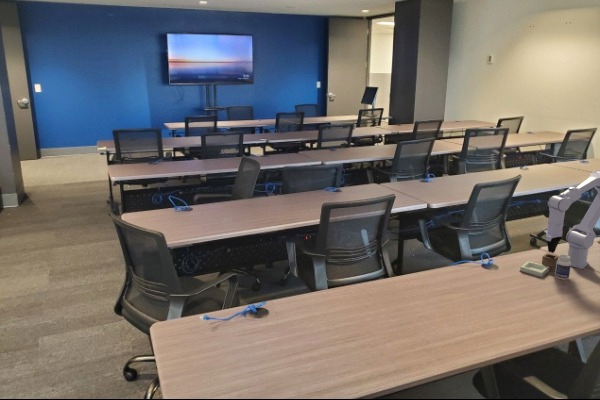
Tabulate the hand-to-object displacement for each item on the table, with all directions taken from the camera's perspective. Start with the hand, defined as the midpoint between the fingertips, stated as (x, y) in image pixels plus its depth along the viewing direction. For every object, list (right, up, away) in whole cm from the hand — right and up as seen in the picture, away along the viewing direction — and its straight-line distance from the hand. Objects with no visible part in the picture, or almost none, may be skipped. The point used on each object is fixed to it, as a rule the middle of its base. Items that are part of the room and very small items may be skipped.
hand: (551, 252), depth 202 cm
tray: (-8, -8, 0) cm, 12 cm away
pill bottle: (+1, -10, -7) cm, 12 cm away
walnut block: (0, -8, +2) cm, 8 cm away
